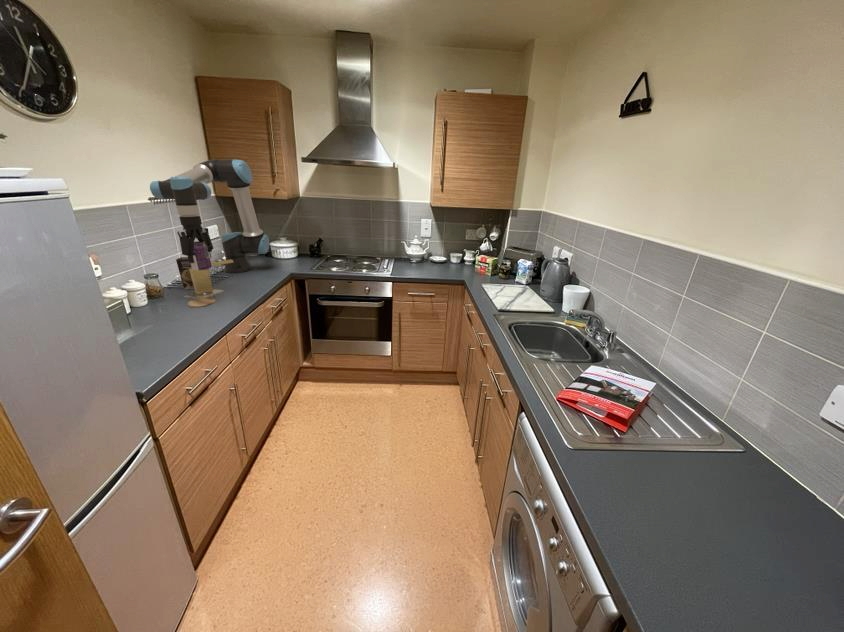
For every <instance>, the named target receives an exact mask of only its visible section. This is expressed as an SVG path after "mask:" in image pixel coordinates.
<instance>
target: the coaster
mask: <svg viewBox="0 0 844 632" xmlns="http://www.w3.org/2000/svg"><path fill="white" fill-rule="evenodd" d="M215 303H216V299H215V298H214V297H212V298H199V299H193V300H192V299H191V300H190V301H188V302H187V307H189V308H204V307H207V306H208V307H209V306H211V305H213V304H215Z"/></svg>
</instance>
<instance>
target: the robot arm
mask: <svg viewBox="0 0 844 632" xmlns="http://www.w3.org/2000/svg"><path fill="white" fill-rule="evenodd" d="M251 170H252V169H251V168H250V166H249V165H248V163H247V162H245V161H244V160H242V159H234V158H233V159H230V158H229V159H228V158H227V159H226V158H225V159H224V158H223V159H222V158H221V159H218V158H213V159H212V158H211V159H208V160H204V161H202V162H200V163H198V164H195V165H194V166H193V167H192V168H191V169H189V170H187V171H185V172H182V173H180V174H178V175H175V176H170V178H168V179H166V180H155V181H152V182H151V183H149V191H150V192H151V195H152V196H153V197H154V198H155V199H157V200H158V199H159V200H165V201H166V200H174V202H175V205H176V211H177V214H178V215H179V221H180V225H181V226H182V228H183V229H182V230H179V231H177V232H176V233H177V235H178V237H179V243H180V249H181V250H180V251H181V254H182V255H183V256H186V257H188V260H189V263H191V267H192V270H199V269H198V265H197V261H196V257H195V255H193V249H194V242H195V240H196V239H197V242H205V244H206V246H207V249H208V253H209V257H210V261H211V265H212V262H213V261H212V253H211V252H213V250H214V246H213V243H212V240H211V237H210V234H209V233H210V232H209V228H208V227H202V225H203V223H202V219H201V216H200V211H199V205H198V202H197V201H199V200H202V201H205V200H208V199H210V197H211V196H212V189H211V187H210V185H208V184H210V183H225V184H226V186H227V188H228V189H229V190H231V191H232V195H233V198H234V203H235V205H236V209H237V212H238V215H239V219H240V221H241V225H242V228H243V231H236V232H235V231H234V232H230V233H225V234H222V235H221V237H220V238H221V244H222V249H223V253H224V256H225V260H233V263H227V264H224V271H225V273H229V272H230V273H231V274H233V273H234V274H235V273H236V274H237V273H244V272H248V271H251V270H252V267H253V266H252V265H251V263H250V261H249V259H248V257H247V254H248V255H250V254H251V255H253V254H254V255H255V254H256V255H263V254H264V255H265V254H267V253H268V252H269V249H270V237H269V236H268V234H265V233H264V230H262V229H261V228H260V225H259V221H258V218H257V215H256V212H255V211H256V210H255V207H254V204H253V200H252V196H251V191H250V187H251V184H252V182H253V180H254V179H253V173H252V171H251ZM212 267H214V266H213V265H212Z"/></svg>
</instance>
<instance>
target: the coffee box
mask: <svg viewBox="0 0 844 632" xmlns="http://www.w3.org/2000/svg"><path fill="white" fill-rule="evenodd" d="M175 261H176V264H177V268H178V273H179V276H180V280H181V282H182V287H183V290H185V291H188V290H187V289H191V290H195V289H194V285H193V282H192V278H191V274H190V271H189V269H191V268H192V267H191V263H189V260H188V256H184V257H183V256H181V257H178V258H176V259H175Z"/></svg>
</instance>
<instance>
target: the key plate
mask: <svg viewBox="0 0 844 632" xmlns="http://www.w3.org/2000/svg"><path fill="white" fill-rule="evenodd" d="M224 293H225V290H224V289H216V288H215V289H214V288H213V291H211V292H206V293H202V294H196V293H195V291H194V292H191V293H189V294H186V295H184V298H186V299H193V300H195V299H199V298H214V297H216V296H219V295H222V294H224Z"/></svg>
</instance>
